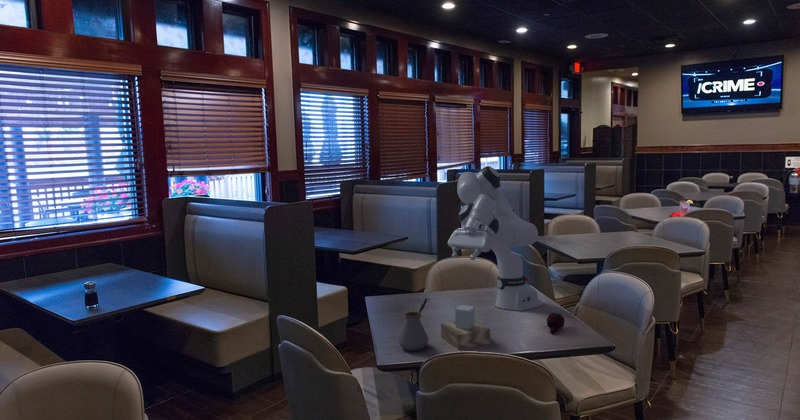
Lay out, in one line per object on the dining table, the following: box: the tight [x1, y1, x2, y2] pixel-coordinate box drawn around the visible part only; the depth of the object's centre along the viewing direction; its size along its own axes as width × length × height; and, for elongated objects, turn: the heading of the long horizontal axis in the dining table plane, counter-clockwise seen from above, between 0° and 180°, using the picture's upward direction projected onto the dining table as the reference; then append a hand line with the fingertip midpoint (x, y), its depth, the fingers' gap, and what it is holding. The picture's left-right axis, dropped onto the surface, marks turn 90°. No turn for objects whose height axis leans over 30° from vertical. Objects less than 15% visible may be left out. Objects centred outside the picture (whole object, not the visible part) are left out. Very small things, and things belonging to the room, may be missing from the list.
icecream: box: [546, 312, 566, 335], centre depth 221 cm, size 7×7×15 cm
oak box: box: [440, 320, 491, 350], centre depth 211 cm, size 14×14×6 cm
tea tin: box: [454, 304, 476, 330], centre depth 211 cm, size 6×6×8 cm
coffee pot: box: [398, 297, 431, 352], centre depth 210 cm, size 21×12×15 cm, turn 156°
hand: (462, 258), depth 219 cm, fingers open, 8 cm apart
